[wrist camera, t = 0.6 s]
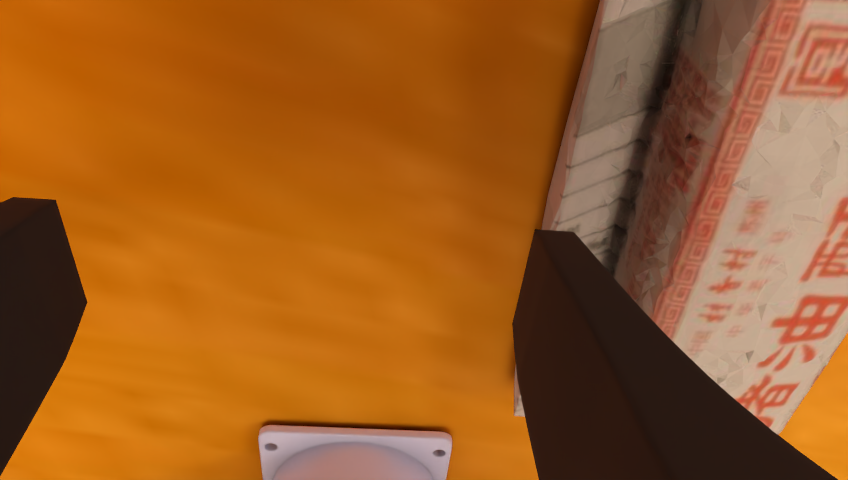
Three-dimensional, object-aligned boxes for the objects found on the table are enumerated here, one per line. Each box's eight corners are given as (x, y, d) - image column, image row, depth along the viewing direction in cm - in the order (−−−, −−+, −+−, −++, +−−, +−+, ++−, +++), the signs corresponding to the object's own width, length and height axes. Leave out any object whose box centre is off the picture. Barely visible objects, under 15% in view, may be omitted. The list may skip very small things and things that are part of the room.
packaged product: (686, -100, 11) (1249, -65, 11) (612, -141, 15) (1033, -114, 15) (523, 499, 22) (811, 502, 22) (505, 385, 25) (751, 390, 26)
